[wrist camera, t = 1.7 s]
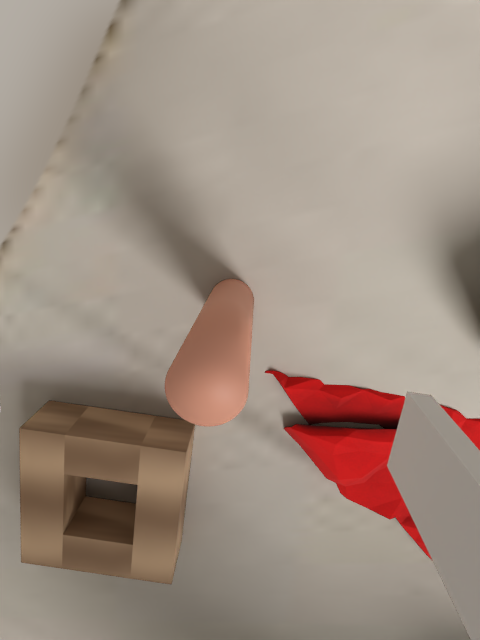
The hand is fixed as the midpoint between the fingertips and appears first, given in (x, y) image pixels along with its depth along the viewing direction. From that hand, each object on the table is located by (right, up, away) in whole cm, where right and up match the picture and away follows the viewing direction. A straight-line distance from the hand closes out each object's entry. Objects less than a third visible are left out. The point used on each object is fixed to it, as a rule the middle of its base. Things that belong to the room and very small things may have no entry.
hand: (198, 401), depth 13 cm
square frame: (-8, -9, +19) cm, 23 cm away
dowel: (+1, +4, +15) cm, 16 cm away
